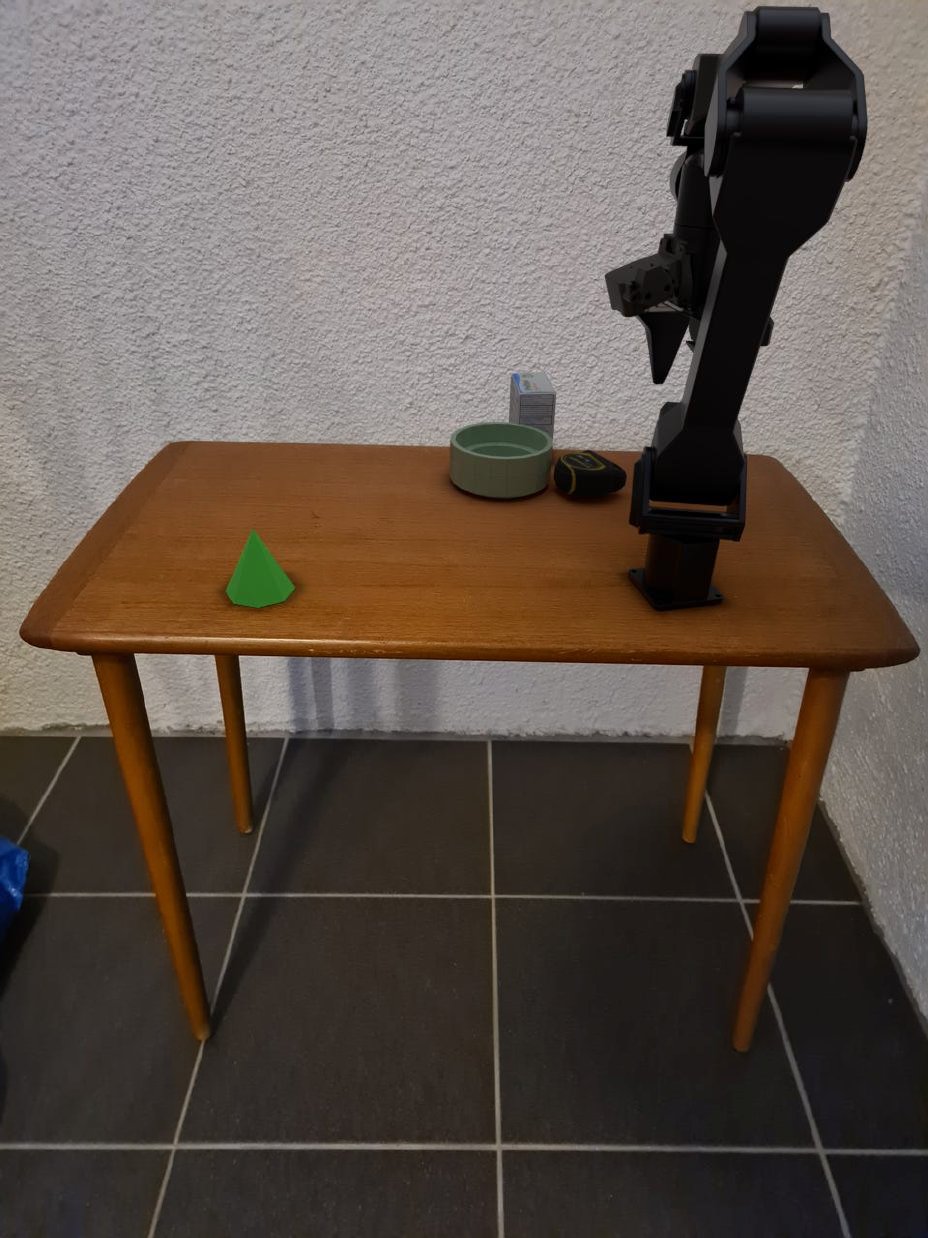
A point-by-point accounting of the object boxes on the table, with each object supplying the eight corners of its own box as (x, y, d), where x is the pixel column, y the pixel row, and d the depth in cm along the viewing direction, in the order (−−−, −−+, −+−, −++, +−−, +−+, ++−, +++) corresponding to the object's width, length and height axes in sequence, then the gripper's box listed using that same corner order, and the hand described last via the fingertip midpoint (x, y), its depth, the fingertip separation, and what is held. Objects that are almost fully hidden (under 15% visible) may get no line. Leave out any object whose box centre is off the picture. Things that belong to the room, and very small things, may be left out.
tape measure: (627, 498, 90) (631, 466, 88) (575, 509, 88) (579, 476, 86) (590, 475, 95) (594, 444, 93) (540, 485, 93) (543, 454, 91)
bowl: (562, 498, 90) (567, 454, 87) (462, 506, 88) (464, 461, 85) (531, 459, 99) (534, 419, 96) (440, 466, 97) (440, 424, 94)
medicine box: (551, 464, 98) (558, 391, 93) (514, 464, 98) (519, 391, 93) (541, 440, 105) (547, 371, 100) (506, 440, 104) (510, 371, 100)
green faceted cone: (228, 574, 74) (219, 513, 71) (296, 571, 75) (290, 511, 72) (221, 609, 69) (211, 546, 66) (294, 606, 70) (287, 543, 67)
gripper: (584, 211, 79) (569, 374, 88) (668, 242, 64) (640, 435, 73) (690, 210, 82) (665, 369, 90) (796, 241, 66) (754, 428, 75)
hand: (677, 397), depth 82 cm, fingers open, 9 cm apart
